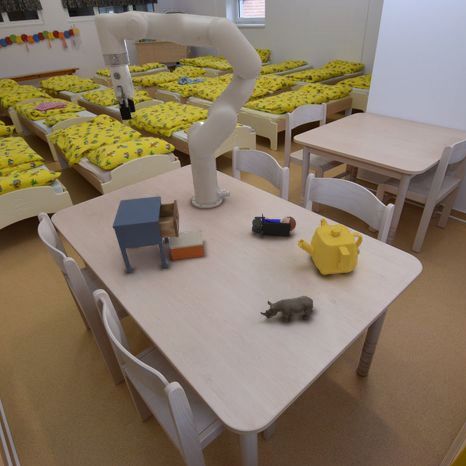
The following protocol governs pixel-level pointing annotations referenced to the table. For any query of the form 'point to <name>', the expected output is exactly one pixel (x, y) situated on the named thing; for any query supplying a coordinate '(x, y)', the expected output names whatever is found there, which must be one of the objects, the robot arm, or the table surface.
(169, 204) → the drawer
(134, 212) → the drawer unit
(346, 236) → the teapot
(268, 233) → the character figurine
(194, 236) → the storage box
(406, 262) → the table surface
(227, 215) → the table surface
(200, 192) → the robot arm
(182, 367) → the table surface
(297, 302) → the rhino figurine
